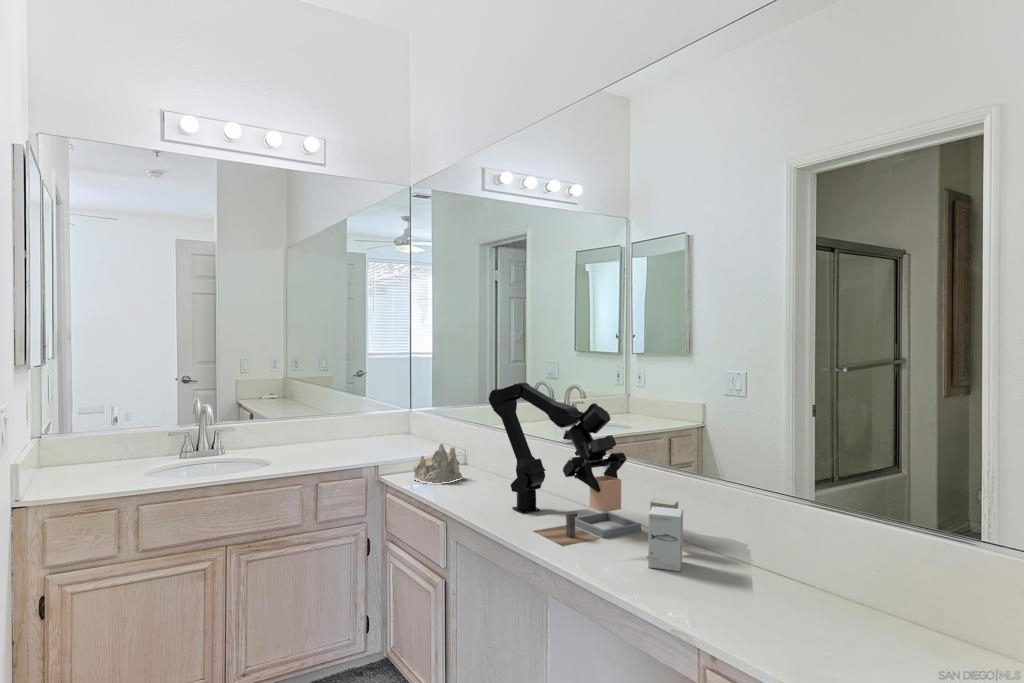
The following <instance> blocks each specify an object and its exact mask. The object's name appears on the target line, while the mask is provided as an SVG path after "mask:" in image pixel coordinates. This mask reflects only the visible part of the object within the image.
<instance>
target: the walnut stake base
mask: <svg viewBox="0 0 1024 683" xmlns="http://www.w3.org/2000/svg"><path fill="white" fill-rule="evenodd" d="M575 517H578V513H577V512H576V511H573V512H567V513H565V519H566V520H565V524H564V525H559V526H554V527H549V528H542V529H536V530H532V532H533V533H535V534H537V535H539V536H541V537H543V538H545V539H547V540H549V541H551V542H553V543H555V544H557V545H559V546H561V547H566V546H571V545H574V544H575V545H576V544H582V543H585V542H591V541H596V540H601V539H602V538H601V537H598V536H596V535H594V534H592V533H589V532H587V531H585V530H582V529H580V528H578V527H576V526H575Z"/></svg>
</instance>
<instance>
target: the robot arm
mask: <svg viewBox="0 0 1024 683" xmlns="http://www.w3.org/2000/svg"><path fill="white" fill-rule="evenodd" d="M519 399H523V400H524V401H526V402H527V403H529V404H531V405H532V406H534V407H536V408H537V409H539V410H540V411H542V412H544V413H545V414H546V415H547V416H548V418H549V420H550V421H551V422H552V423H553V424H554V425H556V426H557V427H558V428H569V427H570V428H569V429H566V430H565V431H564V433H563V434H564V435H563V437H562V438H563V440H567V441H571V442H572V444H573V446H574V448H575V452H574V454H575V456H573V457H569V459H568V460H567V462H566V463H565V464H564V466H563V468H562V473H563V474H564V477H565V478H571V477H574V479H578V480H579V481H581V482H582V483H584V484H586V485H587V486H588V487H589V488H590V487H591V488H592V489H593V490H595V491H596V492H598V493H599V492H600V488H599V485H598V483H597V481H596V479H595V477H596V476H595V475H594V473H593V469H594V468H595V469H596V468H603V470H604V472H603V473H602V474H603V476H606V475H608V476H611V477H614V478H618V479H619V477H618V471H619V470H620V469H621V467H622V466H623V465H624V464H625V463H626V461H627V460H628V458H627V457H626V455H625V453H624V452H622V451H620V452H611V453H610V454H609V456H608V457H607V458H604V457H606V455H607V452H608V451H610V450H613V449H614V447H615V446H616V445H617V443H616V439H615V438H614V436H613V435H606V436H604V437H599V438H596V439H594V438H593V435H592V434H597V433H599V432H601V430H602V429H603V428H604V427H605V426H606V425H607V424H608V423H609V422H610V421H611V416H610V414H609V412H608V411H607V410H605V408H603V407H602V406H599V405H598V404H597V403H591V404H590V405H589V406H588V408H587V409H586V410H585V411H584V412H583V411H579V409H578V408H577V407H575V406H573V405H571V404H568V403H564V402H559V401H556V400H555V399H553V398H551V397H550V396H548V395H546V394H545V393H543V392H541V391H540V390H538V389H536V388H534V387H533V386H532V385H530V384H529V383H528V382H516V383H515V384H512V385H509V386H507V387H504V388H497V389H492V390H491V391H490V393H489V396H488V403H489V404H490V406H491V408H492V411H493V412H494V413H496V414H497V415H498V416H499V418H500V419H501V421H502V424H503V426H504V429H505V432H506V434H507V437H508V440H509V444H510V446H511V448H512V451H513V454H514V457H515V459H516V464H515V465H516V466H515V473H516V478H515V479H514V480H512V482H511V483H510V488H511V491H512V493H513V492H514V493H516V506H512V508H511V509H512V510H514V511H515V512H516V511H517V512H518V513H521V514H528V513H535V512H539V511H541V508H538V507H537V491H536V490H540V489H541V488H542V484H543V483H544V481H545V478H546V473H545V472H546V469H545V468H544V465H543V462H542V459H541V458H535V457H534V456H533V454H532V452H531V449H530V447H529V444H528V442H527V439H526V436H525V433H524V431H523V428H522V425H521V422H520V420H519V417H518V415H517V406H518V402H517V401H518V400H519Z"/></svg>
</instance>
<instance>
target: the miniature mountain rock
mask: <svg viewBox="0 0 1024 683" xmlns="http://www.w3.org/2000/svg"><path fill="white" fill-rule="evenodd" d="M460 464H461V463H460V462H459V460H458V458H457V453H456V447H455V446H451V447H450V448H449V452H448V451H446V448H445V446H444V443H439V445H438V450H435V451H434V453H433V455H432V456H431V457H426V458H425V456H424V455H420V459H419V458H418V459H417V460H416V461H415V463H414V465H413V467H412V468H413V471H414V477H413V479H414V478H417V479H419V480H421V481H426V482H432V483H442V482H450V481H453V480H456V479H460V478H463V475H462V473H461V472H460V467H459V465H460Z"/></svg>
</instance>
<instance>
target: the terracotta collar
mask: <svg viewBox="0 0 1024 683" xmlns="http://www.w3.org/2000/svg"><path fill="white" fill-rule="evenodd" d="M594 477H595V479H596V481H597V483H598V485H599V488H600V492H599V493H598V492H596V491H595V490H593V489H592V488H591V487H590V486H589V507H590V508H592V509H594V510H597V511H599V512H601V513H602V512H612V511H618V510H621V509H622V479H620V478H619V477H618V478H614V477H611V476H608V475H606V476H605V475H600V476H594Z"/></svg>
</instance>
